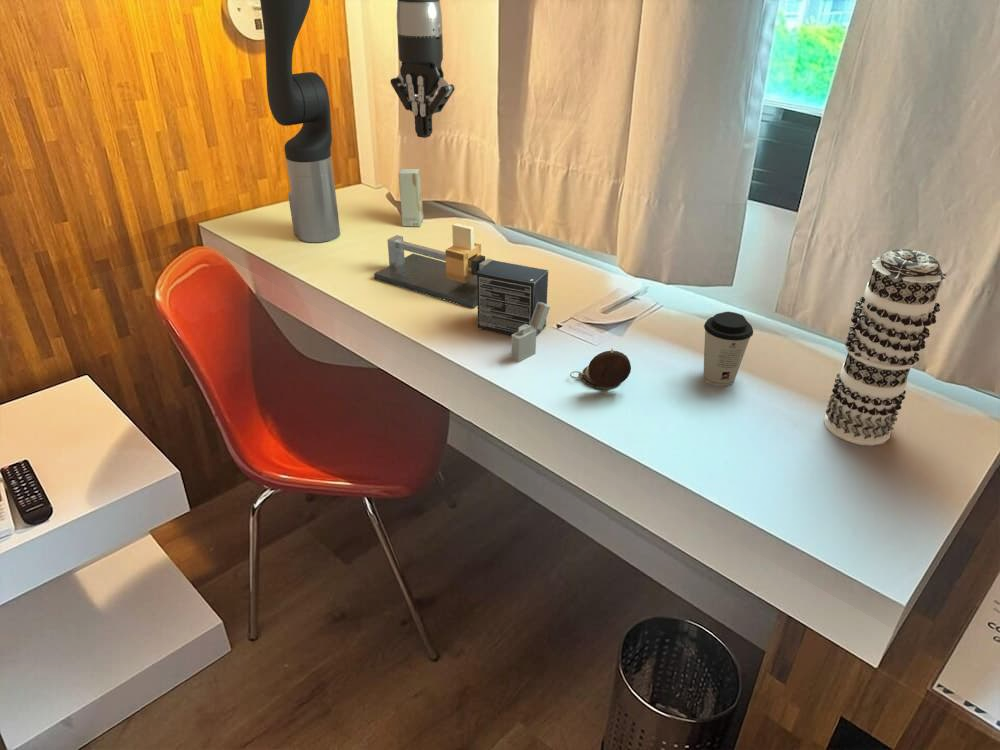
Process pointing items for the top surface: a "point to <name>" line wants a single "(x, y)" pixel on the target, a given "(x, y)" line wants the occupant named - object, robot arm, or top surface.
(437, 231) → the top surface
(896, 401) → the decorative candle
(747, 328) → the coffee cup
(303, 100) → the robot arm
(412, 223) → the skincare box
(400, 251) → the linear slide rail
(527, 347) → the lighter
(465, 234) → the orange slider carriage
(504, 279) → the small box
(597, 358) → the compass
